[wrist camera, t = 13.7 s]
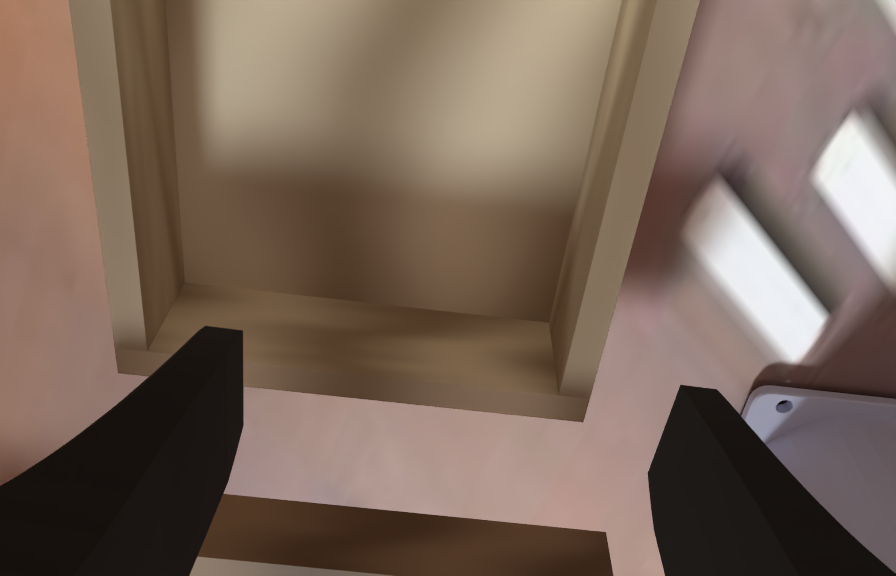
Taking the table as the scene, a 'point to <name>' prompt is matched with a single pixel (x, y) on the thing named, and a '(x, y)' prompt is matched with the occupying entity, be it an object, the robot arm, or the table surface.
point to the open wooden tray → (377, 186)
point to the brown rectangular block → (386, 543)
